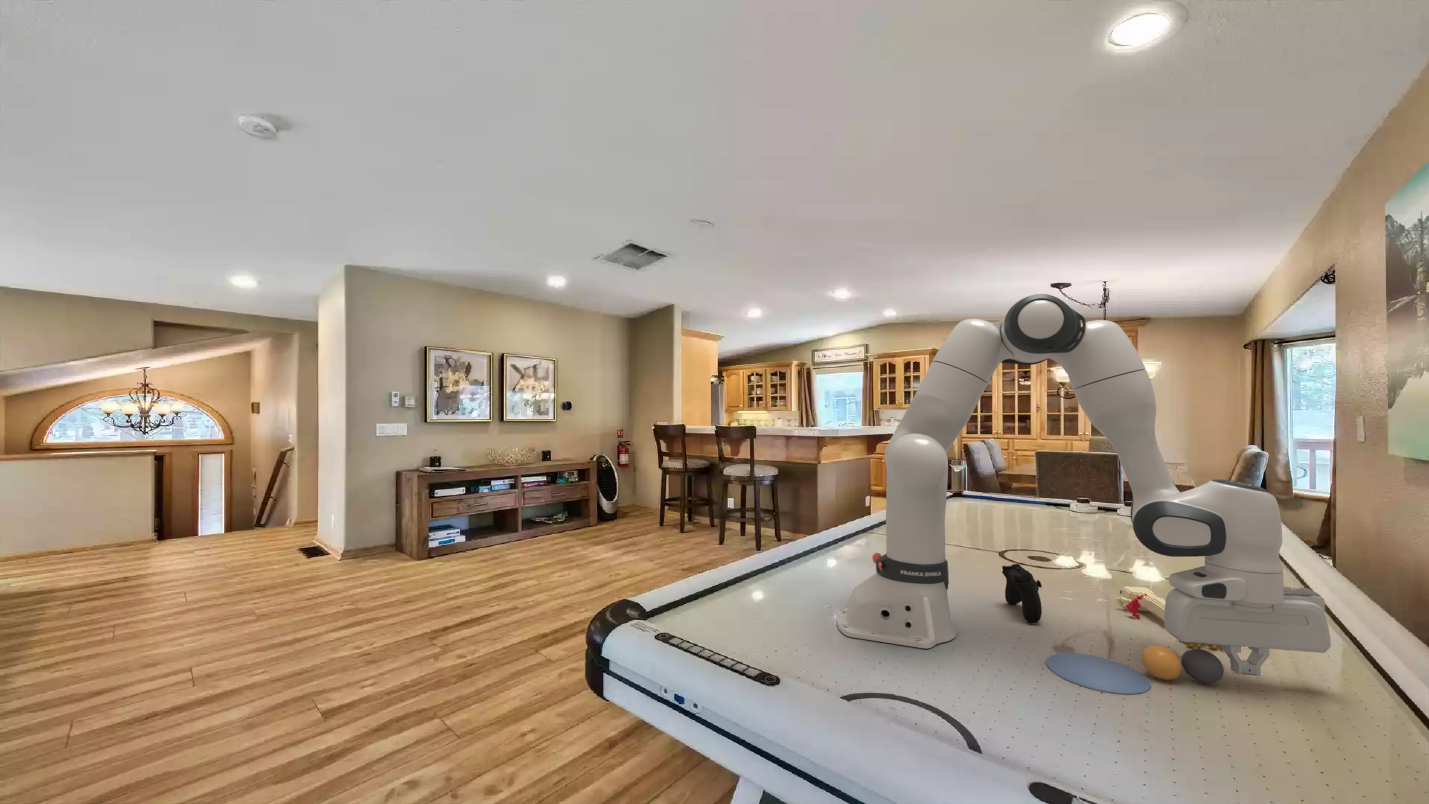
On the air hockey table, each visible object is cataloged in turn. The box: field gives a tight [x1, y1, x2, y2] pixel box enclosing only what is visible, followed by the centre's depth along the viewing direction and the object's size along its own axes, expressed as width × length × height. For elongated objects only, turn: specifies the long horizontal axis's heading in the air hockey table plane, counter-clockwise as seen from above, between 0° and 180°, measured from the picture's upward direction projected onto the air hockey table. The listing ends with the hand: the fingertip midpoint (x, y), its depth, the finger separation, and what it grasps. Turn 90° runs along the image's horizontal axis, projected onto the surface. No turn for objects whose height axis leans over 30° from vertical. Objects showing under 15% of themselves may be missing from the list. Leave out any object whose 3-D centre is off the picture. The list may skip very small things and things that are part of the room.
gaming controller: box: [1001, 563, 1043, 625], centre depth 115 cm, size 14×6×10 cm, turn 168°
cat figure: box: [1115, 585, 1223, 652], centre depth 109 cm, size 10×9×25 cm
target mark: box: [1045, 652, 1152, 695], centre depth 88 cm, size 14×14×1 cm
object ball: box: [1141, 645, 1183, 681], centre depth 86 cm, size 5×5×5 cm
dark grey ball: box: [1180, 648, 1225, 685], centre depth 85 cm, size 5×5×5 cm
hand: (1245, 673), depth 83 cm, fingers closed
